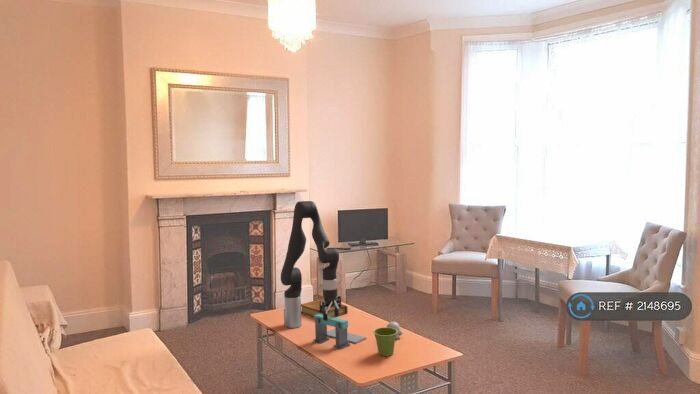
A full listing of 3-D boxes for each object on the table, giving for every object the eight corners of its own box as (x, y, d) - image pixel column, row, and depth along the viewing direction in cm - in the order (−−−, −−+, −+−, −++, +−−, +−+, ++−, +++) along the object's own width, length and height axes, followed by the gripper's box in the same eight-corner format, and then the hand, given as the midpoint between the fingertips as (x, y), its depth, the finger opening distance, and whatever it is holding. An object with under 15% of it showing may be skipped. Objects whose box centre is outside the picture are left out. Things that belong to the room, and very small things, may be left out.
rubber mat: (322, 335, 296) (322, 333, 296) (333, 330, 303) (333, 329, 303) (355, 343, 281) (355, 342, 281) (366, 338, 288) (366, 337, 288)
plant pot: (369, 352, 269) (368, 330, 268) (389, 347, 275) (388, 325, 274) (382, 360, 259) (381, 337, 258) (402, 355, 264) (402, 332, 263)
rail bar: (314, 321, 287) (314, 315, 286) (319, 320, 289) (318, 313, 289) (343, 329, 274) (343, 322, 274) (348, 327, 277) (347, 320, 276)
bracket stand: (313, 341, 286) (312, 318, 285) (322, 337, 291) (321, 314, 290) (341, 349, 274) (340, 325, 273) (349, 345, 279) (349, 321, 278)
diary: (347, 314, 334) (347, 305, 333) (323, 321, 321) (323, 312, 321) (323, 306, 351) (323, 298, 350) (300, 313, 338) (300, 304, 338)
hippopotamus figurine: (380, 344, 288) (375, 330, 285) (395, 330, 294) (391, 317, 292) (390, 347, 282) (385, 333, 280) (405, 333, 289) (400, 320, 286)
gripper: (333, 283, 288) (334, 314, 289) (315, 289, 277) (316, 320, 278) (344, 285, 283) (345, 316, 284) (326, 291, 272) (327, 323, 274)
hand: (331, 318), depth 281 cm, fingers open, 8 cm apart
